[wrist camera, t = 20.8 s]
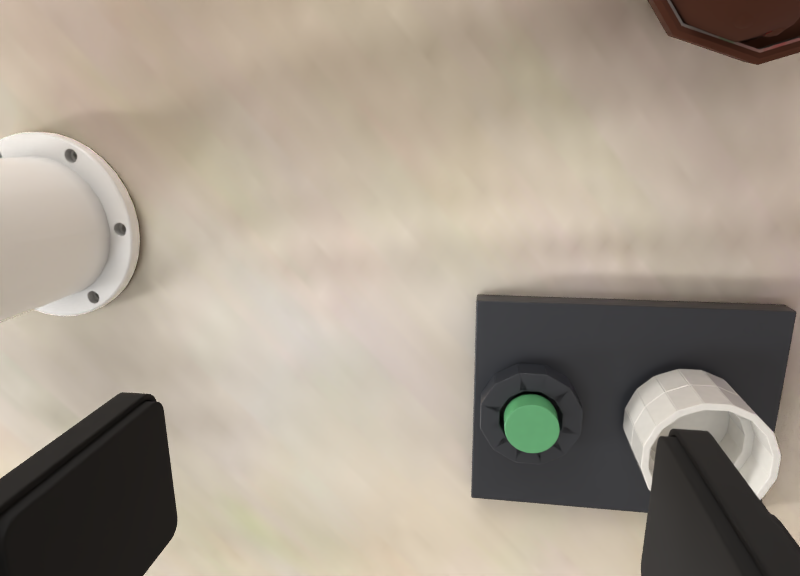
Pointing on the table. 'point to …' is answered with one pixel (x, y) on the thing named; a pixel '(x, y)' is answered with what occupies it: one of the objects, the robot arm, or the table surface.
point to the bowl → (701, 423)
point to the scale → (605, 384)
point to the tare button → (531, 423)
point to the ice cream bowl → (734, 26)
